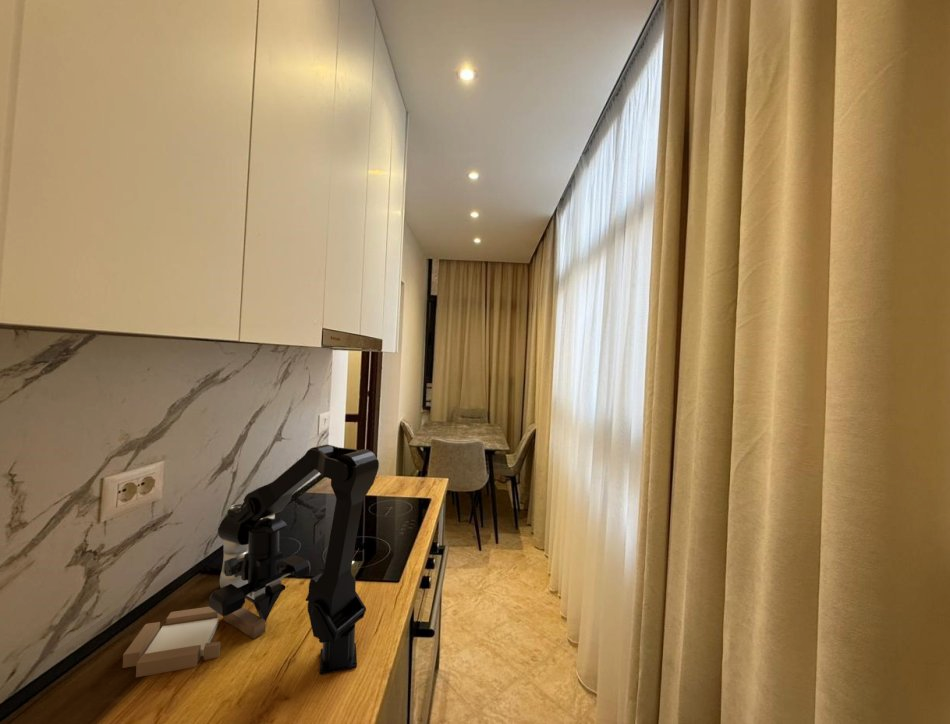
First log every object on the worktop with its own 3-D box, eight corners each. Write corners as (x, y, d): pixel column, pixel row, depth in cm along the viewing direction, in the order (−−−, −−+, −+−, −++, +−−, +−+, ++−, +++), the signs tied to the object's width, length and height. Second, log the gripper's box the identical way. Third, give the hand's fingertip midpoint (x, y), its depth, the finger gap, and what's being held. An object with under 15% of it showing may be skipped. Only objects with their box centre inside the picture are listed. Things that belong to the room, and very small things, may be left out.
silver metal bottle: (240, 578, 104) (243, 500, 104) (255, 586, 100) (258, 505, 100) (213, 590, 98) (216, 507, 98) (228, 599, 95) (231, 513, 95)
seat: (216, 663, 75) (216, 650, 75) (113, 681, 70) (113, 667, 70) (236, 613, 89) (236, 602, 89) (152, 626, 84) (152, 614, 84)
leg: (221, 619, 87) (221, 603, 87) (232, 614, 89) (233, 598, 89) (253, 640, 81) (254, 623, 81) (265, 633, 83) (265, 616, 83)
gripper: (282, 524, 97) (282, 588, 97) (195, 556, 81) (194, 633, 81) (312, 535, 91) (311, 604, 91) (224, 573, 75) (223, 656, 75)
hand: (263, 622), depth 85 cm, fingers closed
